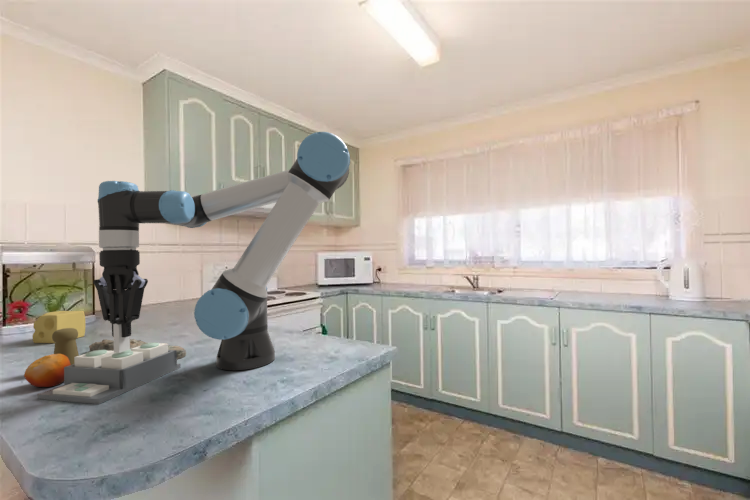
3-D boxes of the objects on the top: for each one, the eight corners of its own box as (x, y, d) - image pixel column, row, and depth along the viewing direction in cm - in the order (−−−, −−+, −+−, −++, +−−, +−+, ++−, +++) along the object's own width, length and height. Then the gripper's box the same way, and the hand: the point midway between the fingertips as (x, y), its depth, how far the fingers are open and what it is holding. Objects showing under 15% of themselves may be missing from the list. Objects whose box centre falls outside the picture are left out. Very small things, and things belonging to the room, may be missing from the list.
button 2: (143, 364, 83) (143, 350, 83) (121, 372, 77) (121, 357, 77) (123, 363, 84) (123, 349, 84) (101, 371, 79) (101, 356, 79)
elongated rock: (166, 369, 96) (195, 360, 105) (168, 350, 96) (196, 342, 106) (76, 354, 106) (109, 347, 115) (77, 337, 106) (110, 331, 115)
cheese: (32, 343, 123) (31, 315, 123) (64, 335, 133) (63, 309, 133) (56, 344, 121) (56, 315, 121) (87, 336, 132) (86, 309, 132)
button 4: (168, 355, 90) (167, 341, 90) (150, 362, 85) (149, 348, 85) (150, 354, 91) (149, 341, 91) (130, 361, 86) (130, 347, 86)
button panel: (180, 367, 92) (180, 348, 92) (99, 404, 71) (98, 379, 71) (130, 364, 96) (129, 346, 96) (38, 398, 74) (37, 375, 74)
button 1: (117, 363, 84) (117, 349, 84) (94, 371, 79) (94, 356, 79) (98, 362, 86) (98, 348, 86) (74, 370, 80) (74, 355, 80)
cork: (63, 374, 89) (62, 331, 89) (44, 373, 90) (43, 331, 90) (87, 366, 95) (85, 326, 95) (69, 365, 96) (68, 326, 96)
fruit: (87, 371, 87) (67, 348, 83) (55, 399, 80) (32, 375, 76) (66, 368, 89) (46, 346, 85) (34, 395, 83) (10, 372, 79)
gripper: (157, 248, 83) (159, 347, 83) (112, 249, 86) (114, 345, 86) (128, 248, 76) (131, 357, 76) (80, 249, 78) (82, 354, 78)
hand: (122, 350), depth 81 cm, fingers closed
